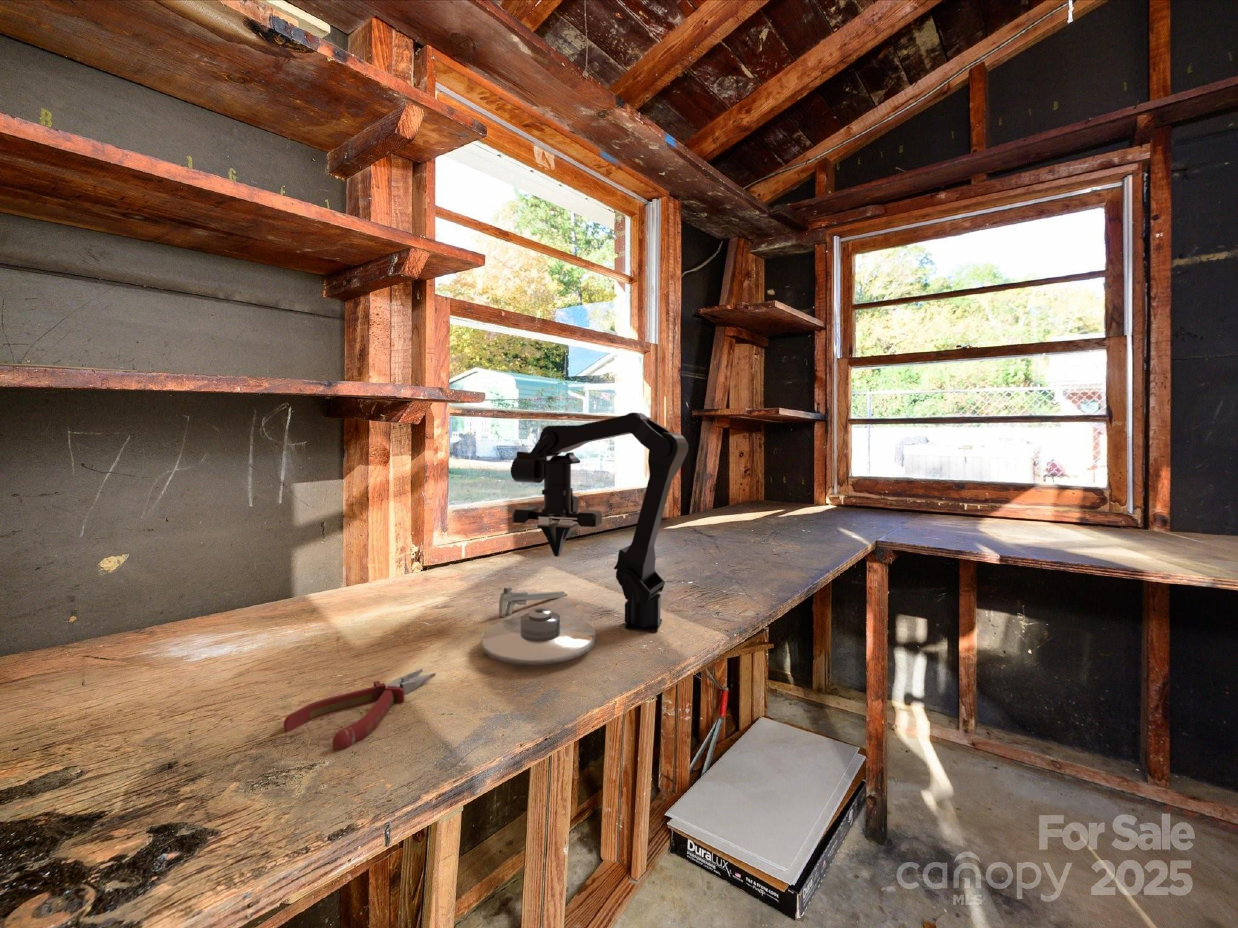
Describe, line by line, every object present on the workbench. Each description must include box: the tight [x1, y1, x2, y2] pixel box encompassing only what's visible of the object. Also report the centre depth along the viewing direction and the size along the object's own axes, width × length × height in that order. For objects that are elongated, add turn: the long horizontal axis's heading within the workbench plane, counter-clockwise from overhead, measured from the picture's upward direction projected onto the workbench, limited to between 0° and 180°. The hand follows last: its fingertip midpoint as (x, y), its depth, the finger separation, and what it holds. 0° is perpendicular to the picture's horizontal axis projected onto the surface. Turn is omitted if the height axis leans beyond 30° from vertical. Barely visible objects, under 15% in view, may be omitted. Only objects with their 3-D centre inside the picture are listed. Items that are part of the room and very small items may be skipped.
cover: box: [520, 606, 561, 641], centre depth 97 cm, size 7×7×4 cm
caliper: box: [498, 587, 568, 618], centre depth 121 cm, size 20×1×6 cm, turn 144°
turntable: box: [481, 614, 596, 666], centre depth 97 cm, size 20×20×1 cm
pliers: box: [283, 668, 437, 751], centre depth 76 cm, size 12×20×3 cm, turn 155°
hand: (557, 556), depth 117 cm, fingers closed
